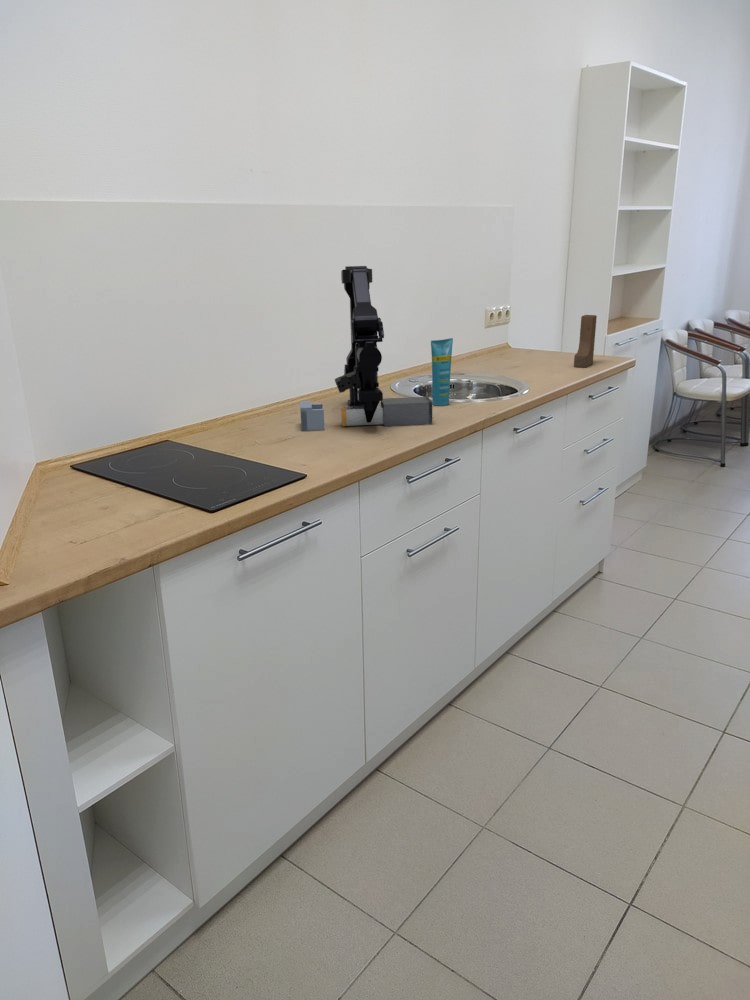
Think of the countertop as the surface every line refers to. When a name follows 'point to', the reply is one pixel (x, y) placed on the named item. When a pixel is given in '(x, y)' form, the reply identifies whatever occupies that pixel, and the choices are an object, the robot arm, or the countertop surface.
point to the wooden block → (586, 342)
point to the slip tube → (360, 416)
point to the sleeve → (407, 411)
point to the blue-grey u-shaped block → (311, 416)
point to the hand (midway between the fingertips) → (367, 420)
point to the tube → (441, 370)
